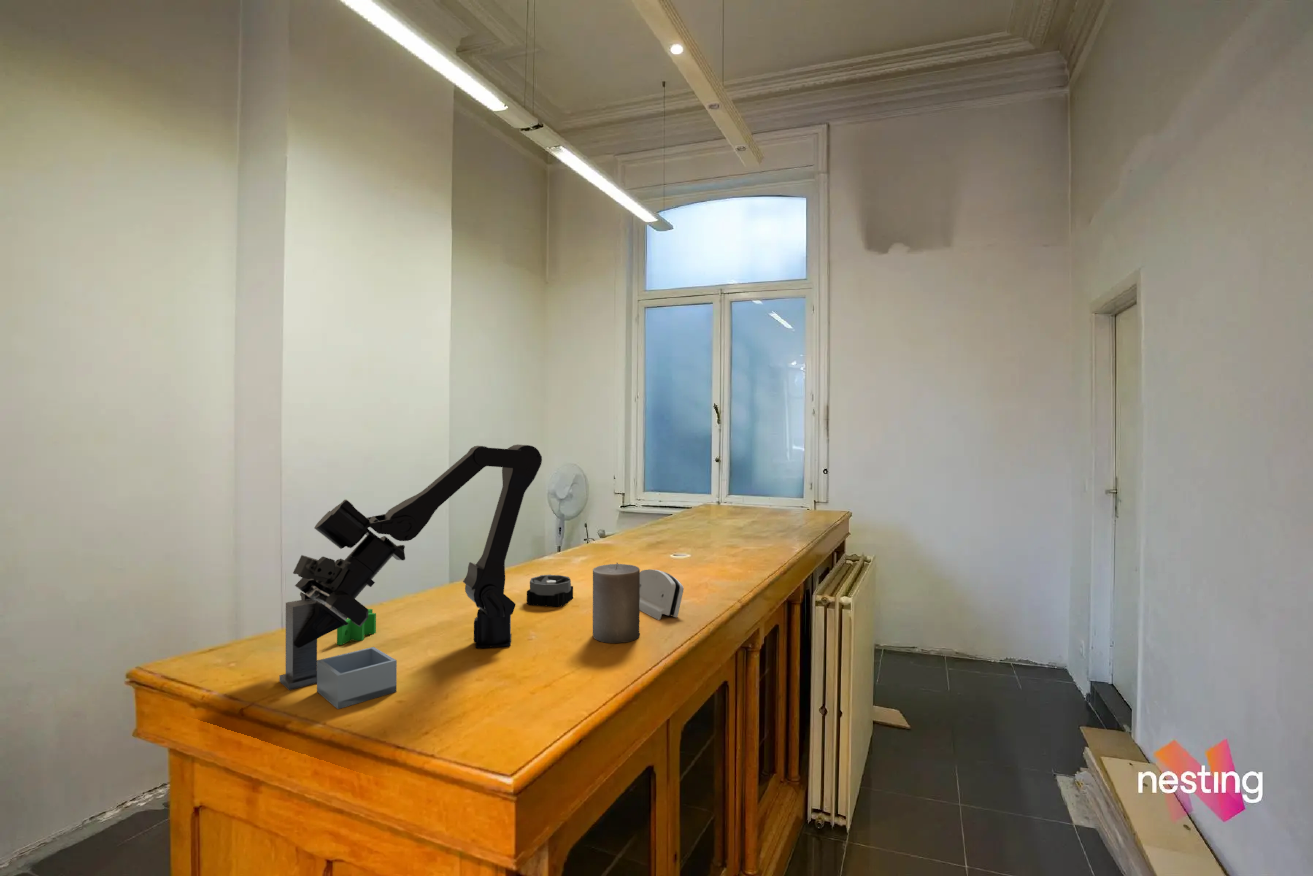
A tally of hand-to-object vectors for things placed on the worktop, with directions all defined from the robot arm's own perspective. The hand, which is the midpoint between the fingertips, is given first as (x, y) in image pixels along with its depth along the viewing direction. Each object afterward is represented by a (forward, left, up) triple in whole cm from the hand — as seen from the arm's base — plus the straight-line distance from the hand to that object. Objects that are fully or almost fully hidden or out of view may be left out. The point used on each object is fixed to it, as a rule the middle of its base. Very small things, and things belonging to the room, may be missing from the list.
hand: (291, 643), depth 102 cm
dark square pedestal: (-1, -1, -7) cm, 7 cm away
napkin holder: (-67, -33, -7) cm, 75 cm away
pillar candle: (-55, -15, -7) cm, 58 cm away
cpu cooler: (-43, -43, -7) cm, 61 cm away
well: (-11, +5, -7) cm, 14 cm away
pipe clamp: (-5, -23, -7) cm, 25 cm away
